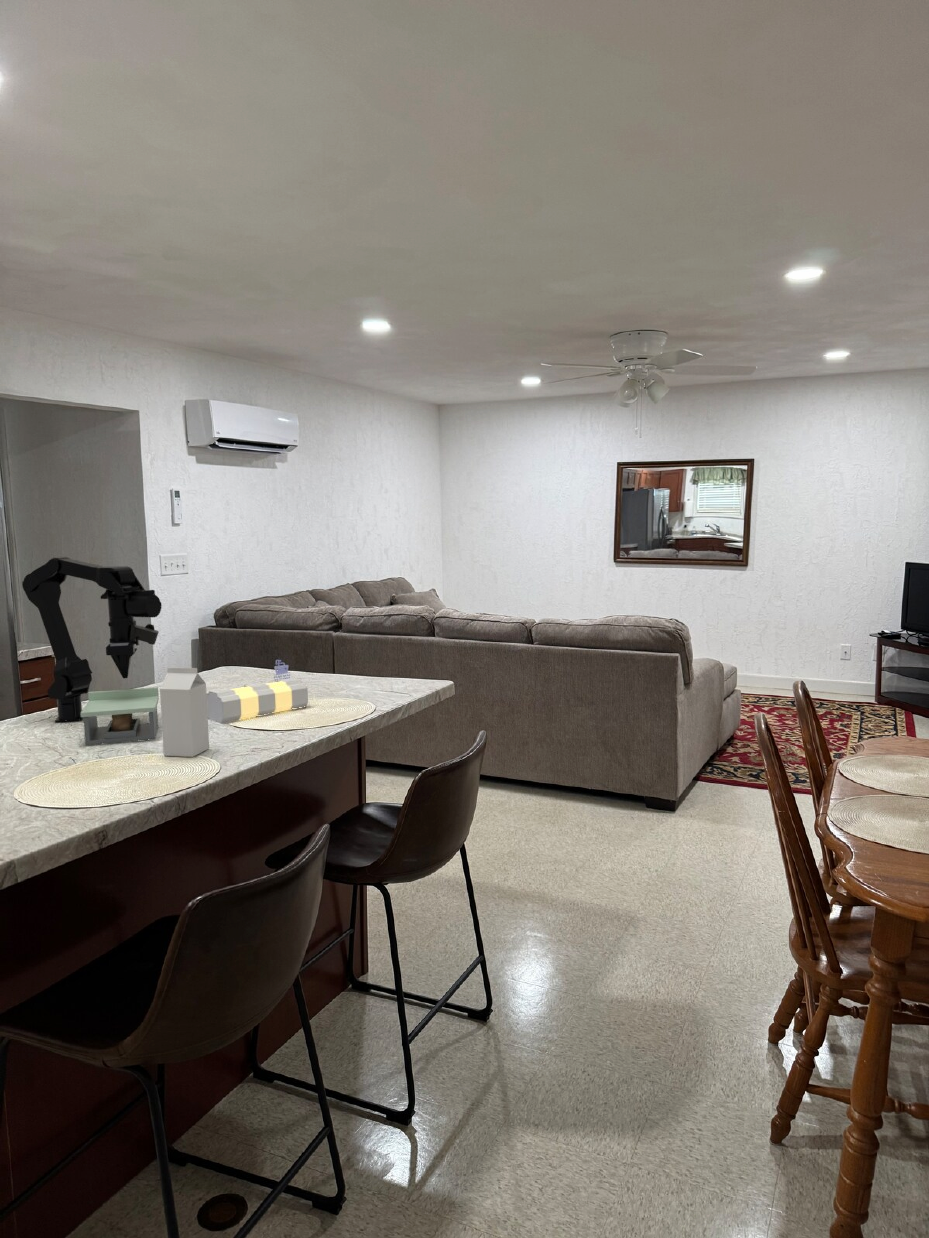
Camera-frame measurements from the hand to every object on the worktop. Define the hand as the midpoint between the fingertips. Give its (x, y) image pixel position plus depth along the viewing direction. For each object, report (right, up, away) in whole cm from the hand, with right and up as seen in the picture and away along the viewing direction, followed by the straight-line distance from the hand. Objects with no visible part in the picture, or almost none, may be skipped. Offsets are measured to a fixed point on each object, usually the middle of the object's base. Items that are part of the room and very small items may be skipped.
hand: (125, 678), depth 212 cm
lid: (+4, -6, -11) cm, 13 cm away
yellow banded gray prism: (+31, -11, +12) cm, 34 cm away
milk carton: (+24, -15, -27) cm, 39 cm away
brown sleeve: (+5, -12, -14) cm, 19 cm away
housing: (+4, -13, -11) cm, 17 cm away
